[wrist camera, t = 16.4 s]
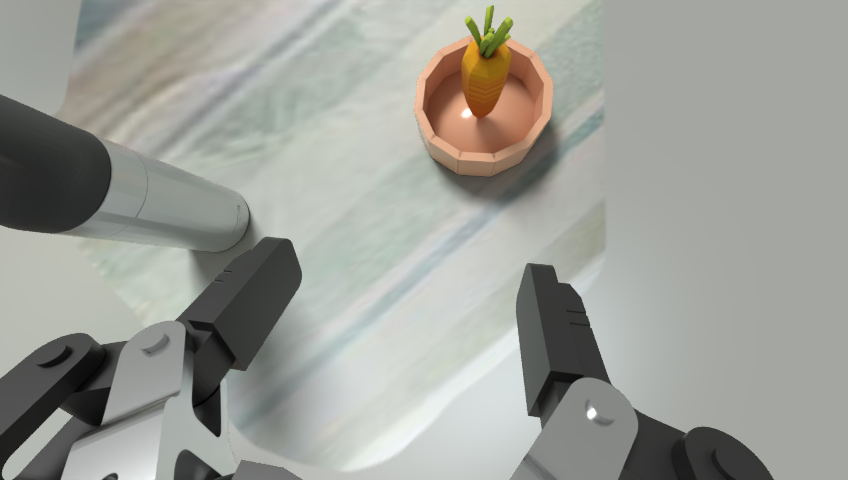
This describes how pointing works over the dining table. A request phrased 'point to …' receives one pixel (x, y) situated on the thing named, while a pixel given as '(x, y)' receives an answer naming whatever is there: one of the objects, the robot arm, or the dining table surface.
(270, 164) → the dining table surface
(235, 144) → the dining table surface
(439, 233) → the dining table surface
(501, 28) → the carrot
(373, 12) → the dining table surface
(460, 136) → the terracotta bowl
